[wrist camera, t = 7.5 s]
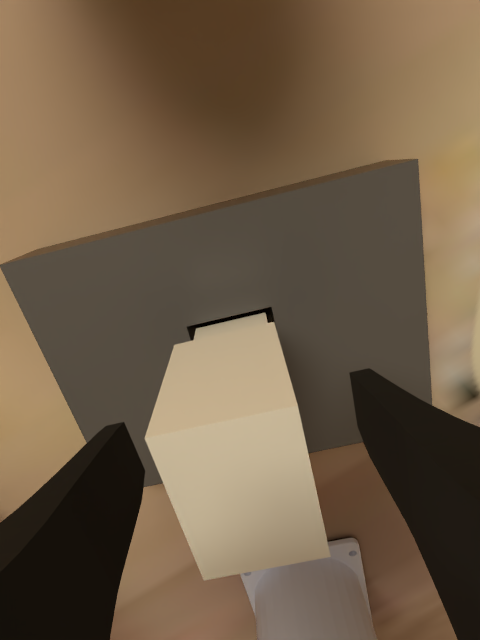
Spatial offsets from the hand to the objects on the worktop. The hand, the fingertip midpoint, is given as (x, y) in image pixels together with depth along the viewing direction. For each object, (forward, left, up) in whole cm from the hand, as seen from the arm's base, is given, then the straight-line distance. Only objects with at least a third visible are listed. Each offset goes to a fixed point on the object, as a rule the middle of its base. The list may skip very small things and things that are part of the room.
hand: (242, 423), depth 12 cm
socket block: (0, 0, -8) cm, 8 cm away
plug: (0, 0, -5) cm, 5 cm away
